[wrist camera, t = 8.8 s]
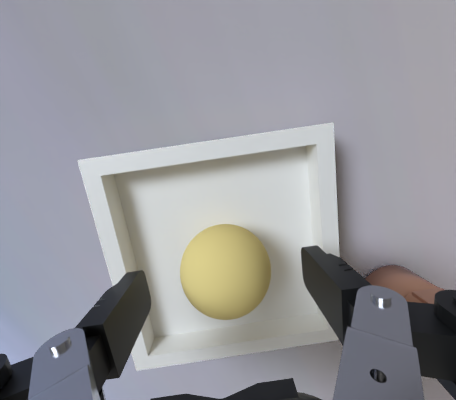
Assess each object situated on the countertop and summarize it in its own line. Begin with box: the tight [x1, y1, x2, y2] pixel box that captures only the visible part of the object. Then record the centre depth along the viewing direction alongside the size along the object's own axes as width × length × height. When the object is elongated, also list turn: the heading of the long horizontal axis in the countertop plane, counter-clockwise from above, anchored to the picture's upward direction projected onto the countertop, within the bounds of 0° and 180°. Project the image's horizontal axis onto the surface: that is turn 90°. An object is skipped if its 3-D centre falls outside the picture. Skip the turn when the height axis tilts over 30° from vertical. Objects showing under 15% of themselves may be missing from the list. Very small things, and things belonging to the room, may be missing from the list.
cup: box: [365, 265, 444, 304], centre depth 14 cm, size 5×5×5 cm
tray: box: [77, 122, 340, 371], centre depth 14 cm, size 14×14×2 cm
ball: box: [180, 224, 271, 320], centre depth 12 cm, size 5×5×5 cm
